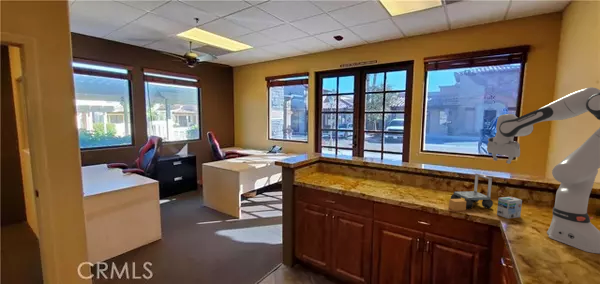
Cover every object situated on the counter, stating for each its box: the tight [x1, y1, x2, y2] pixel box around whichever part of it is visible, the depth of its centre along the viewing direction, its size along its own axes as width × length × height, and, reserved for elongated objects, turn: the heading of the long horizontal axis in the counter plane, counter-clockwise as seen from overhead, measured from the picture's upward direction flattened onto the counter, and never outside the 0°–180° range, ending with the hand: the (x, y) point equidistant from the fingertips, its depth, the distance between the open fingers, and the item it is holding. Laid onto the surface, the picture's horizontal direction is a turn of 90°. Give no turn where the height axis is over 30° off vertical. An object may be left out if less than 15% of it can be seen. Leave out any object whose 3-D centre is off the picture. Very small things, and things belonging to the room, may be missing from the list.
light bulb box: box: [496, 196, 523, 219], centre depth 157 cm, size 11×7×11 cm, turn 105°
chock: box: [448, 198, 467, 212], centre depth 168 cm, size 5×8×6 cm, turn 97°
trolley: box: [450, 173, 494, 210], centre depth 174 cm, size 13×20×20 cm, turn 97°
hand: (501, 161), depth 164 cm, fingers open, 8 cm apart
